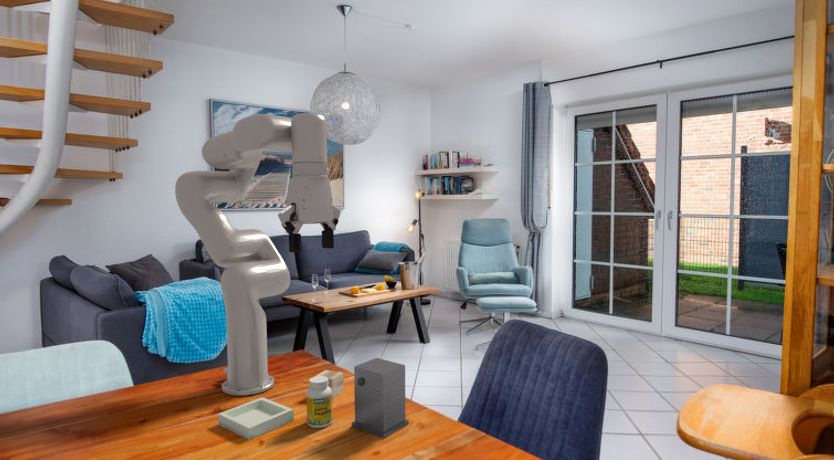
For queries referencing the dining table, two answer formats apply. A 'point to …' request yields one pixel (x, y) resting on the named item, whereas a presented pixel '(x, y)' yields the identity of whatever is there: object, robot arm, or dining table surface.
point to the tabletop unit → (379, 397)
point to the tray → (255, 418)
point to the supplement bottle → (319, 403)
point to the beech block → (334, 381)
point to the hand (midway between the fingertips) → (312, 250)
